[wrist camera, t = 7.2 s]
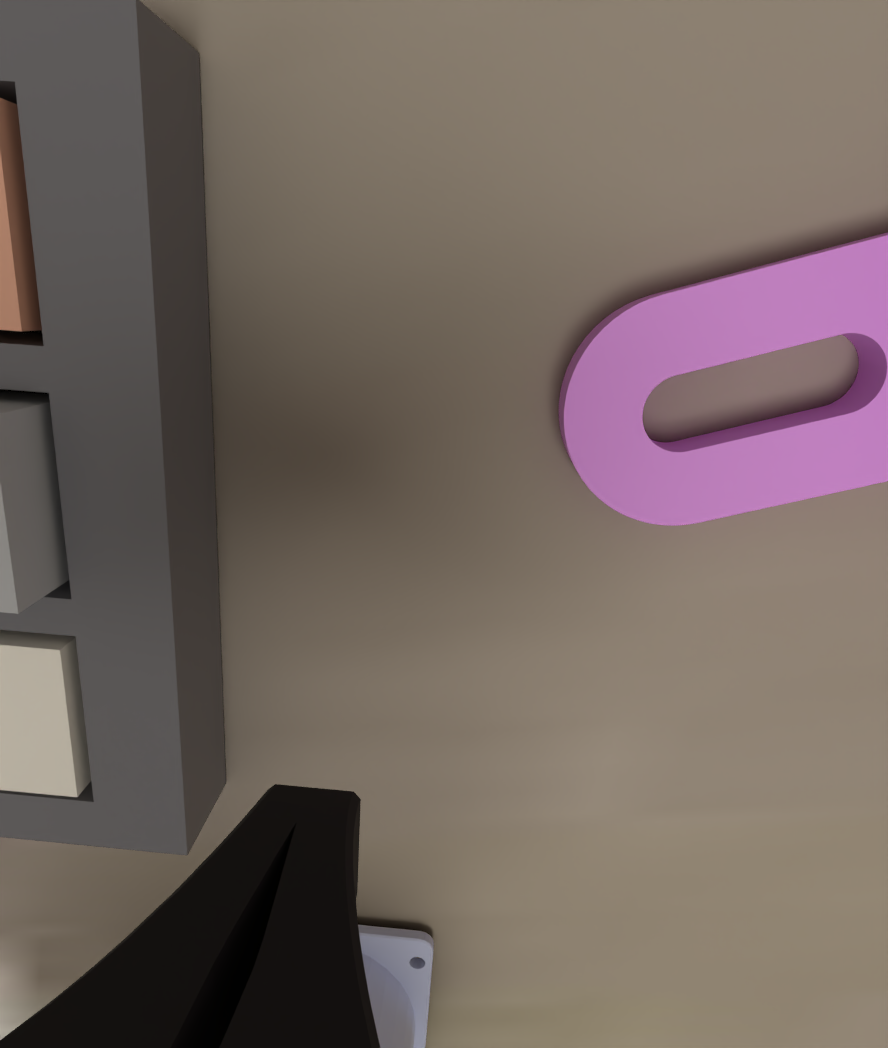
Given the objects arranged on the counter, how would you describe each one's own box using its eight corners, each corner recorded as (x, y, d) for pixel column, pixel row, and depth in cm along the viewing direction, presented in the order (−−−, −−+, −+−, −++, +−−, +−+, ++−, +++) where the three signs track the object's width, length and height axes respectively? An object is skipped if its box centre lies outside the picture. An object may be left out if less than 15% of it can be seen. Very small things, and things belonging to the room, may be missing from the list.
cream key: (132, 730, 21) (77, 797, 18) (-8, 717, 21) (-83, 781, 18) (121, 599, 20) (59, 650, 17) (-28, 587, 20) (-113, 634, 17)
